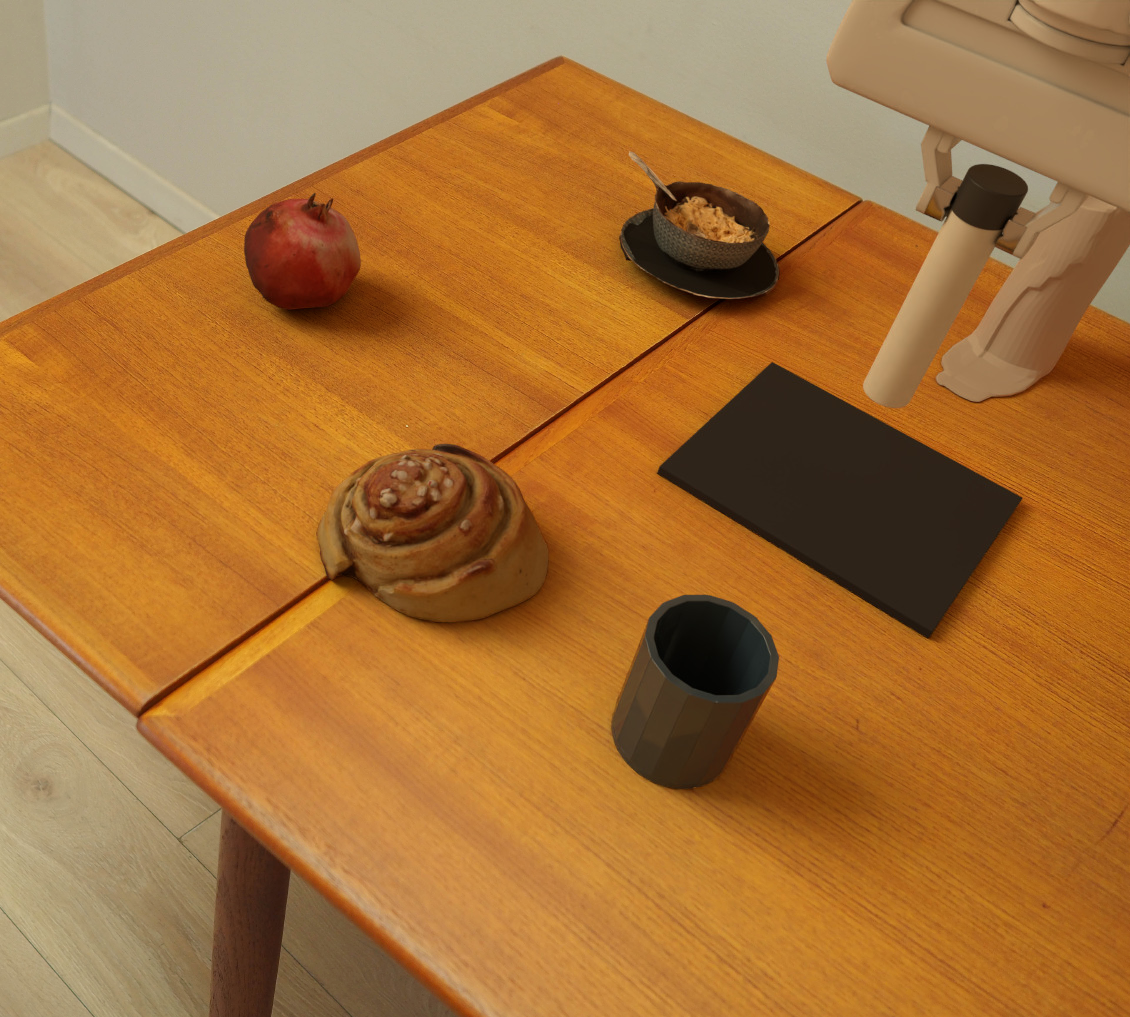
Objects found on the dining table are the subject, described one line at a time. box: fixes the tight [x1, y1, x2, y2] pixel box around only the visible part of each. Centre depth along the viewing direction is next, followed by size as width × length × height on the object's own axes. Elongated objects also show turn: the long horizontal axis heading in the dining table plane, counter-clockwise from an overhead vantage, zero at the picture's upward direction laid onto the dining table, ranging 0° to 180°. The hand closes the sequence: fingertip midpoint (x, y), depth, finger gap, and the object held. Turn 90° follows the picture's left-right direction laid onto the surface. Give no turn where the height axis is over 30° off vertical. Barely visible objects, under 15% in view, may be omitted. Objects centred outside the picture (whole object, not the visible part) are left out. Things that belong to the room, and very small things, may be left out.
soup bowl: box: [618, 150, 781, 300], centre depth 104 cm, size 15×16×7 cm
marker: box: [862, 163, 1029, 409], centre depth 62 cm, size 3×3×14 cm
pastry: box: [315, 443, 550, 623], centre depth 75 cm, size 13×15×8 cm
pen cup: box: [610, 594, 780, 790], centre depth 67 cm, size 7×7×9 cm
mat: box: [656, 361, 1023, 639], centre depth 87 cm, size 22×18×1 cm
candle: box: [935, 195, 1130, 403], centre depth 94 cm, size 7×14×20 cm, turn 131°
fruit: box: [243, 192, 362, 310], centre depth 92 cm, size 9×10×10 cm
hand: (971, 231), depth 59 cm, fingers closed on marker, 3 cm apart
